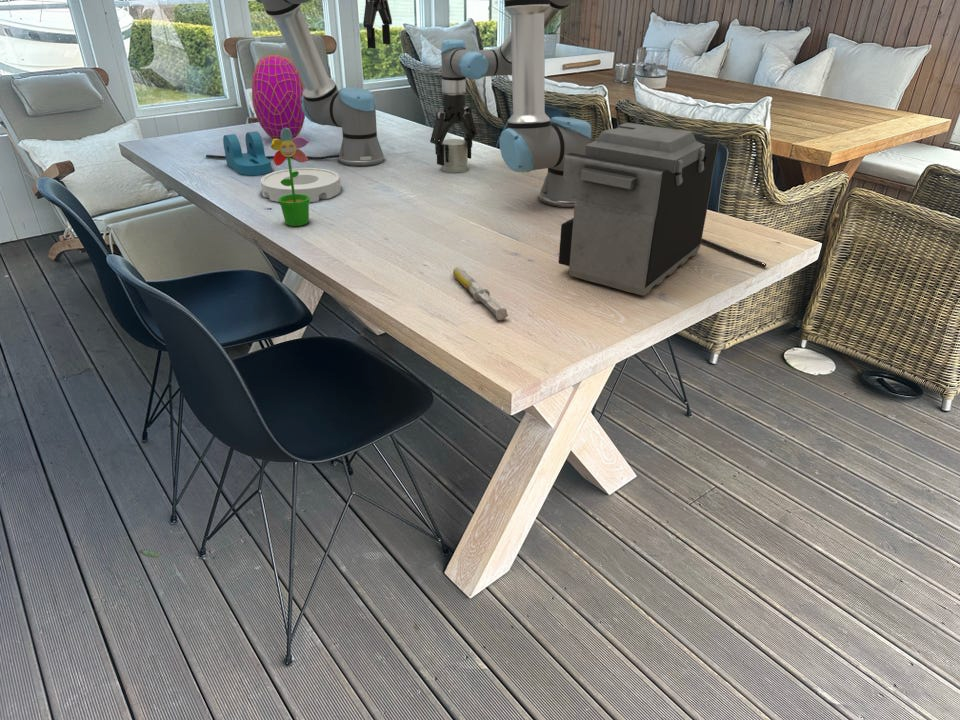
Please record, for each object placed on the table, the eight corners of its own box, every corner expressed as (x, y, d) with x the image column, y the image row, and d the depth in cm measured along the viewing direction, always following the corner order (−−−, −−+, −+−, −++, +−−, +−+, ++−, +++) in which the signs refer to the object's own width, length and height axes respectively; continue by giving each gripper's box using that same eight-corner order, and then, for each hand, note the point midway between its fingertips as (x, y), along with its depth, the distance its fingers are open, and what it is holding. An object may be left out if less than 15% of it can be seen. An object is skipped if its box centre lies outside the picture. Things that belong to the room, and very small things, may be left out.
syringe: (449, 274, 155) (449, 263, 153) (465, 272, 156) (464, 260, 154) (490, 323, 135) (491, 310, 133) (508, 319, 136) (508, 307, 134)
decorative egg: (293, 132, 276) (283, 50, 261) (319, 140, 264) (310, 56, 249) (249, 139, 265) (236, 54, 250) (273, 148, 253) (261, 60, 238)
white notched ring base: (275, 179, 218) (273, 167, 216) (347, 181, 217) (346, 168, 215) (251, 202, 198) (249, 188, 196) (331, 204, 197) (330, 190, 195)
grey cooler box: (622, 232, 180) (636, 112, 165) (704, 251, 169) (728, 124, 154) (550, 277, 154) (560, 140, 139) (641, 302, 143) (663, 157, 128)
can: (468, 166, 235) (468, 139, 230) (465, 173, 227) (465, 145, 223) (443, 165, 236) (443, 138, 231) (439, 172, 228) (439, 144, 224)
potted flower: (284, 229, 179) (270, 130, 166) (277, 220, 185) (263, 124, 172) (319, 224, 183) (308, 127, 170) (311, 215, 188) (300, 121, 176)
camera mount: (227, 164, 233) (221, 132, 227) (257, 160, 238) (252, 129, 233) (244, 176, 220) (239, 143, 215) (276, 172, 225) (271, 139, 220)
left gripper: (370, -20, 229) (375, 50, 240) (398, -21, 250) (401, 42, 261) (350, -20, 231) (355, 49, 242) (379, -22, 251) (383, 42, 262)
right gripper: (471, 87, 229) (471, 152, 240) (417, 96, 214) (419, 165, 225) (488, 90, 225) (487, 156, 236) (434, 99, 209) (435, 170, 220)
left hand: (379, 46), depth 251 cm, fingers open, 13 cm apart
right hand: (454, 161), depth 230 cm, fingers open, 12 cm apart
